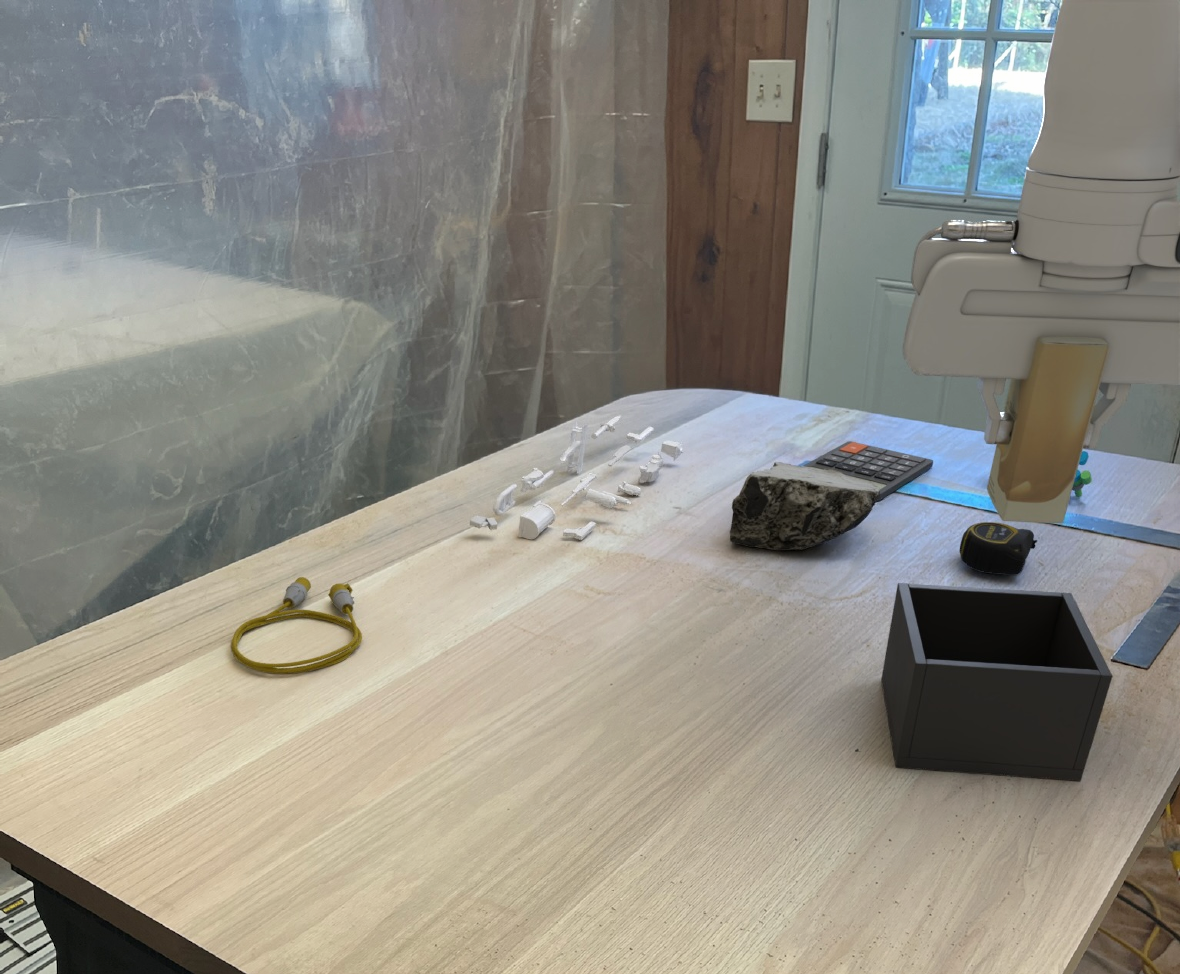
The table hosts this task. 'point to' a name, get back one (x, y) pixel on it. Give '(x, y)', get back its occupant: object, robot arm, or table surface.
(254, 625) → the extension cord
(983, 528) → the tape measure
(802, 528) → the concrete fragment
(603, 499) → the miniature set
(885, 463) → the calculator
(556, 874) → the table surface
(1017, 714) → the open box
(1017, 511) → the cosmetic box
